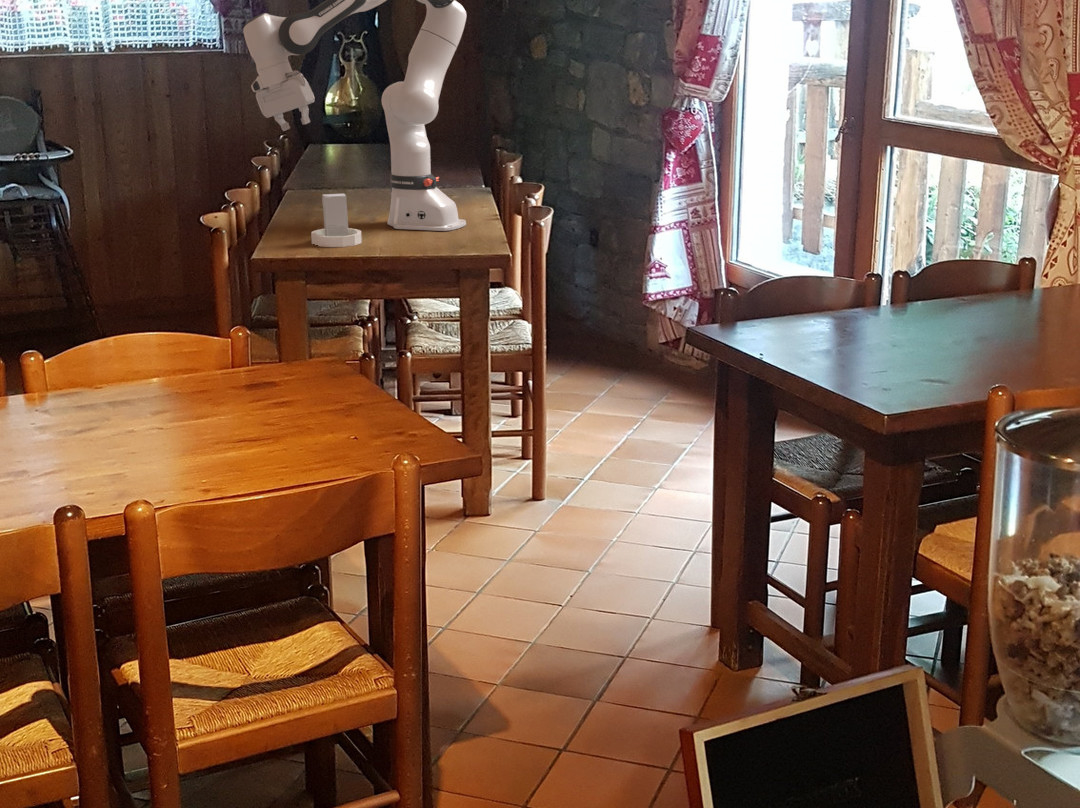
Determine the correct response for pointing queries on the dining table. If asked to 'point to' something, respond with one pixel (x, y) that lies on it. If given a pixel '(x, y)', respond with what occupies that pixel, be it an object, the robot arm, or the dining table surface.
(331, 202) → the skincare box
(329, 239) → the ring dish
